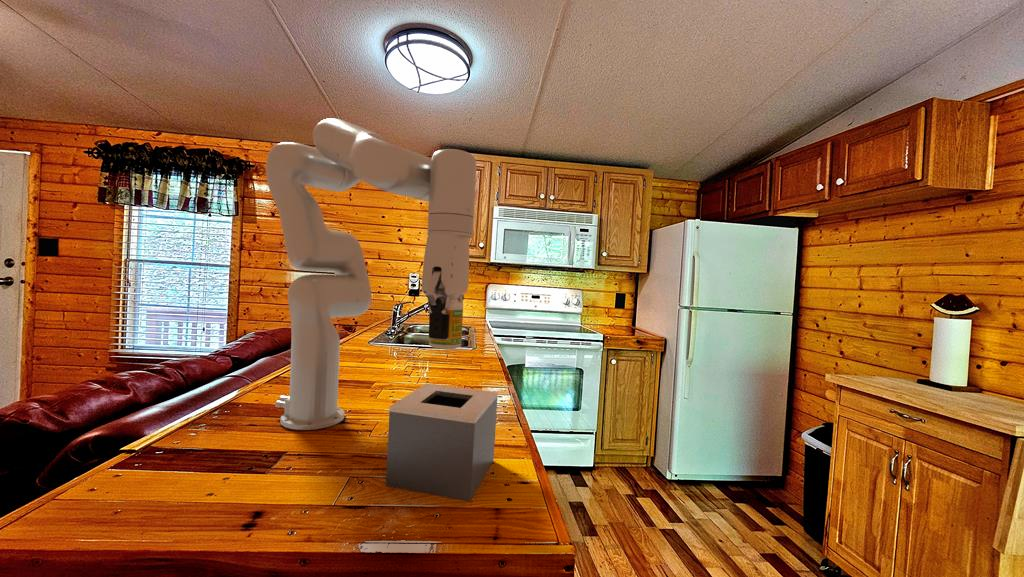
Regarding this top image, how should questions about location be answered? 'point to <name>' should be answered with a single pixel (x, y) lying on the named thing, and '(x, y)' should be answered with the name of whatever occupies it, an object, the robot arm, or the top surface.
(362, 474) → the top surface
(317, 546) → the top surface
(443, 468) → the box
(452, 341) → the supplement bottle
